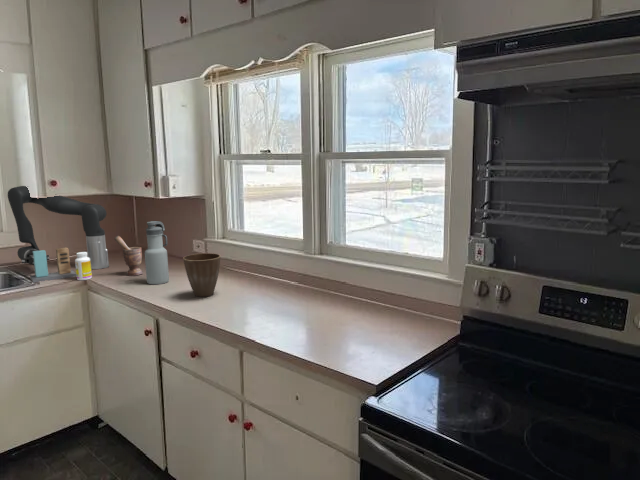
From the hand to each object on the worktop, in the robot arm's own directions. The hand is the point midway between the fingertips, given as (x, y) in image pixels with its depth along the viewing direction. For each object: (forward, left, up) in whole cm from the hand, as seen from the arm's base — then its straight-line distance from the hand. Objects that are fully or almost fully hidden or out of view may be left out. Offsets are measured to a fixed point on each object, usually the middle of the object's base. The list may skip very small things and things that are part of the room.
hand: (38, 261), depth 251 cm
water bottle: (-41, +52, -8) cm, 67 cm away
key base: (-5, +7, -8) cm, 12 cm away
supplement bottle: (-16, +21, -8) cm, 28 cm away
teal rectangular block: (0, +7, -6) cm, 9 cm away
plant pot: (-48, +87, -8) cm, 100 cm away
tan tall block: (-10, +7, -6) cm, 14 cm away
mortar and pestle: (-36, +28, -8) cm, 46 cm away
